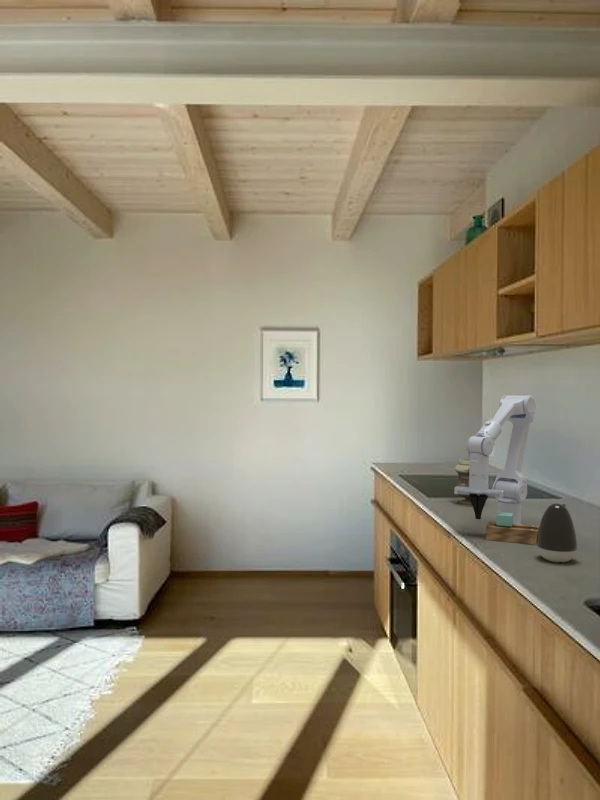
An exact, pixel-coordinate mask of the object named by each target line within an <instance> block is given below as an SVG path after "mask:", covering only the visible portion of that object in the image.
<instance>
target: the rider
mask: <svg viewBox="0 0 600 800" xmlns="http://www.w3.org/2000/svg"><path fill="white" fill-rule="evenodd" d="M495 519H496V521H495V522H496V525H497V526H503V527H512V524H513V513H503V512H498V511H497V513H496V518H495Z"/></svg>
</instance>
